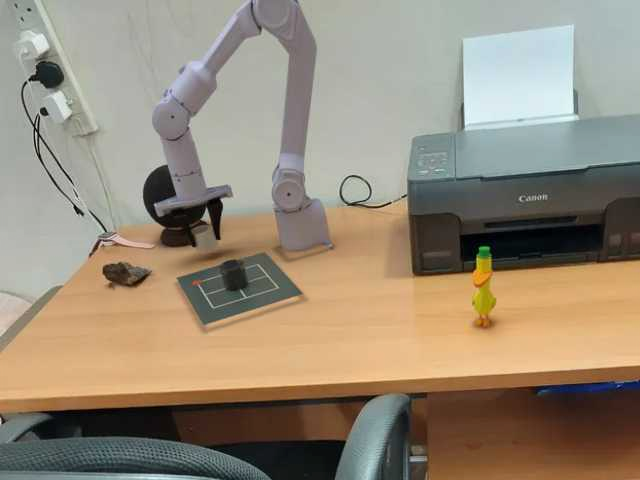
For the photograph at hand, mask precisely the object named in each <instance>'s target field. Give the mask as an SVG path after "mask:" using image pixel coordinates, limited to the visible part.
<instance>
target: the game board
mask: <svg viewBox="0 0 640 480" xmlns="http://www.w3.org/2000/svg"><path fill="white" fill-rule="evenodd" d="M239 260H242V261H243V262H244V266H245V270H246V274H247V278H248V282H249V284H248V285H247V286H246V287H245V288H243V289H240V290H236V291H229V290H226V289H225V287H224V283H223V280H222V276H221V272H220V268H219V266H220V264H218V265H215V266H212V267H211V266H210V267H208V268H205V269H201V270H198V271H195V272H190V273H188V274H183V275H180V276H177V277H176V280H177V282H178V283H179V285H180V288H181V289H182V290H183V293H184V294H185V296H186V298H187V299H188V301H189V303H190V304H191V306H192V308H193V310H194V312H195V313H196V314H197V317H198V318H199V320H200V322H201V324H202V325H203V326H206V325H210V324H213V323H215V322H218V321H222V320H225V319H228V318H231V317H235V316H237V315H241V314H244V313H248V312H250V311H254V310H257V309H260V308H263V307H267V306H269V305H273V304H275V303H276V304H277V303H279V302H282V301H286V300H289V299H291V298H295V297H298V296H302V295H304V292H302V291H301V289H300V288H299V287H298V286H297V285H296V284H295V283H294V282H293V281H292V280H291V278H289V276H288V275H287V274H286V273H285V272H284V271H283V270H282V269H281V268H280V267H279V265H278V264H277V263H276V262H275V261H274V260H273V259H272V257H270V256H269V255H268V254H267V252H265V251H263V252H259V253H256V254H252V255H248V256H246V257H242V258H239Z"/></svg>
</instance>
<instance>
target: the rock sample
mask: <svg viewBox="0 0 640 480" xmlns="http://www.w3.org/2000/svg"><path fill="white" fill-rule="evenodd" d="M151 273H153V270H150V269H149V270H148V269H147V268H145V267H142V266H138V265H137V266H133V265H132V264H130V263H129V262H127V261H119V262H117V263H116V262H113V263H112V262H111V263H110V262H109V263H108V264H104V265H103V266H102V272H101V274H102V275H103V276H104V278H105V279H106V280H107V281H109V282H111V283H112V284H114V283H115V282H114V281H117V282H119V283H121V284H124V285H129V286H132V285H133V284H135V283H136V282H138V281H139V280H141V279H142V278H143V277H145V276H147V275H148V276H149V275H150V274H151Z"/></svg>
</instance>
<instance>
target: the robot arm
mask: <svg viewBox="0 0 640 480" xmlns="http://www.w3.org/2000/svg"><path fill="white" fill-rule="evenodd" d="M263 30H265V31H266V32H267V33H269V34H270V35H272V36H273V37H274V38H276V39H277V41H278V42H279V43H280V45H282V47H283V49H284V50H285V52H287V54H288V63H287V64H288V65H287V75H286V86H285V95H284V96H285V98H284V106H283V115H282V128H281V136H280V137H281V139H280V147H279V154H278V155H279V157H278V163H277V165H276V167H275V168H274V170H273V171H272V175H271V180H272V181H271V182H272V186H271V187H272V188H271V199H272V201H273V205H272V207H273V211H274V217H275V221H276V227H277V232H278V236H279V237H278V238H279V241H280V245H281V246H280V247H281V248H282V250H284V251H286V252H302V251H305V250H309V249H311V248H313V247H315V246H318V245H321V244H324V245H325V246H326V247H327V248H329V249H332V248H333V244H332V243H331V236H330V231H329V230H330V229H329V223H328V217H327V214H326V210H325V207H324V203H322V200H321V199H319V198H317V197H315V198H311V197H310V196H308V195H307V189H306V176H305V171H304V170H305V154H306V147H307V137H308V129H309V123H310V122H309V120H310V112H311V111H310V110H311V103H312V95H313V86H314V78H315V69H316V60H317V51H318V45H317V41H316V39H315V38H316V37H315V36H314V33H313V31H312V29H311V26H310V24H309V22H308V20H307V18H306V15H305V13H304V10H303V8H302V6H301V3H300V1H299V0H246V1H245V2H244V3H242V5H240V7H238V8H237V10H235V12H234V13H233V15H232V16H231V17H230V19H229V20H228V22H227V23H226V25H225V26H224V27H223V29H222V30H221V31H220V33H219V34H218V36H217V38H216V39H215V41H214V42H213V43H212V44H211V45H210V47H209V49H208V50H207V52H206V53H205V55H204V56H203V58H202V59H201V60H190V61H188V62H187V64H186V65H185V64H184V63H182V64H181V66H180V67H179V68H178V70H177V72H178V74H179V75H178V76H177V77H176V79H175V80H174V81H173V83H172V84H171V86H170V87H169V88H168V89H167V88H165V89H164V90H163V91H162V93H161V96H162V97H164V98H161V100H160V101H159V102H158V103H157V104H156V105H155V106H154V109H153V112H152V114H151V125H152V127H153V129H154V131H155V133H157V135H158V136H159V138H160V139H159V140H160V141H161V145H162V151H163V155H164V157H165V161H166V165H167V164H168V168H169V171H170V174H171V178H172V181H173V185H174V188H175V191H176V195H177V196H174V197H172V198H169V199H167V200H164V201H162V202H159V203H155V204H154V206H155V209H156V212H157V215H158V216H159V217H161V216H164V214H167V213H171V215H172V216H173V218H174V219H175V220H176V221H177V223H178V224H179V225H180V226H181V227H182V229H183V230H184V232H185V234H186V235H187V237H188V239H189V242H190V244H191V245H190V246H191V247H192V248H195V247H196V243H195V240H194V238H193V235H192V232H191V229H190V225H189V221H188V216H187V215H186V213H185V211H184V210H183V209H185V208H189V207H193V206H196V205H200V204H204V203H205V204H206V211H207V214H208V216H209V220H210V225H211V226H213V227H214V231H215V235H216V239H217V242H218V241H221V240H222V239H221V220H222V214H223V211H224V203H223V201H222V199H226V198H227V199H231V198H233V197H234V193H233V190H232V186H231V185H230V184H229V183H227V184H223V185H216V186H211V187H207V184H206V180H205V176H204V173H203V170H202V165H201V161H200V157H199V154H198V150H197V147H196V143H195V141H194V138H193V134H192V131H191V126H189V125H190V123H191V118H194V117H196V116H197V115H198V113H199V112H200V111H201V110H202V108H203V107H204V106H205V104H206V103H207V102H208V100H209V99H210V98H211V96H212V95H213V94H214V93H215V91H216V90H217V89H218V83H217V82H218V81H217V74H219V72H220V70H222V68H223V67H224V65H226V64H227V62H228V61H229V60H230V58H231V57H232V56H233V55H234V54H235V52H236V51H237V50H238V49H239V48H240V46H241V45H242V44H243V42H244V41H245V40H247V39H249V38H253V37H257V36H261V35H262V31H263Z"/></svg>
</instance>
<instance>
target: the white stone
mask: <svg viewBox="0 0 640 480" xmlns="http://www.w3.org/2000/svg"><path fill="white" fill-rule="evenodd" d="M191 232H192V235H193V238H194V240H195V243H196V247H194V248H195V251H196V252H197V254H200V255H201V254H203V255H205V254H211V253H214V252H215V251H217V250H218V249H219V243H218V241H217V239H216V235H215V231H214V227H213V226H212V224H209V225H202V226H198V227H196V228H194V229H192V230H191Z"/></svg>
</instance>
